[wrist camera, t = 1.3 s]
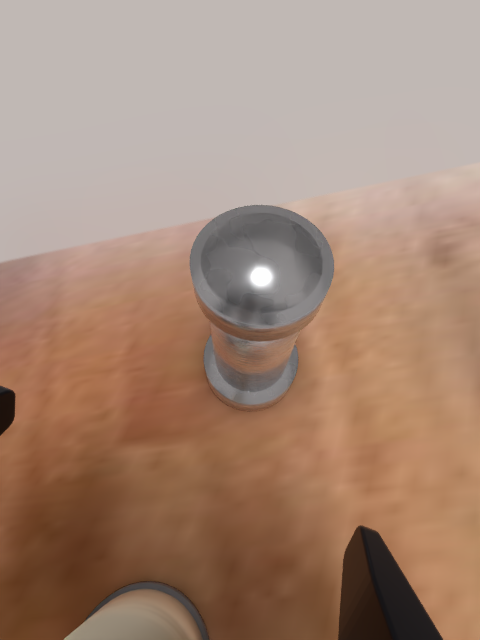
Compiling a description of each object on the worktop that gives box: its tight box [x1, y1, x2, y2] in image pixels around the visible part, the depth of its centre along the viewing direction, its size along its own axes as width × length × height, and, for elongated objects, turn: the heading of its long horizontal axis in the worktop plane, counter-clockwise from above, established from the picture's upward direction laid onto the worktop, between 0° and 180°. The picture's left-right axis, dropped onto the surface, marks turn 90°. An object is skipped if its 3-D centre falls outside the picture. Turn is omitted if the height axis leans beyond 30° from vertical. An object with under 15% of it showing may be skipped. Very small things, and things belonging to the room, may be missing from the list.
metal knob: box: [190, 205, 334, 411], centre depth 18 cm, size 6×6×12 cm
